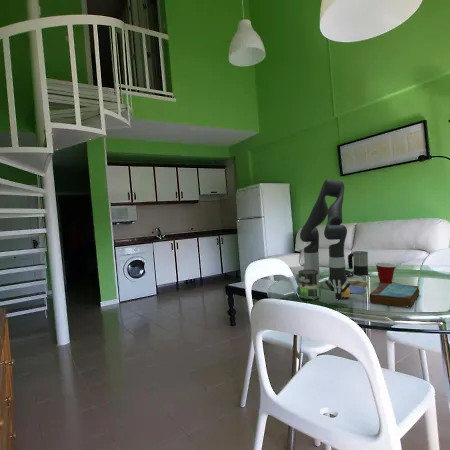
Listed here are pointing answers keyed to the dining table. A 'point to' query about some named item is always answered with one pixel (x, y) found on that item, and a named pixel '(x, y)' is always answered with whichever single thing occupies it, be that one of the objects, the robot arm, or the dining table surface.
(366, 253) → the milk frother
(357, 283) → the stopper bar
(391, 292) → the book
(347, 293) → the ball
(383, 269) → the plastic cup
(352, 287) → the disc
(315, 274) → the coffee can
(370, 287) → the dining table surface
